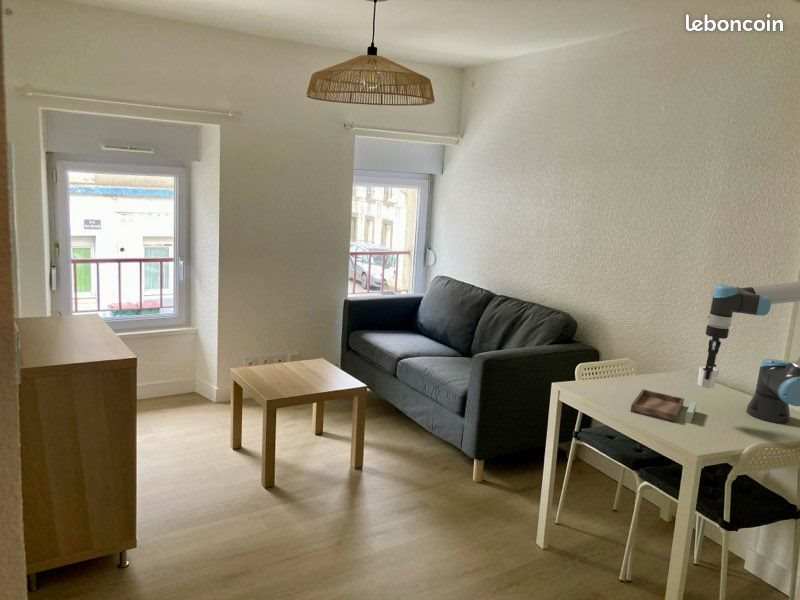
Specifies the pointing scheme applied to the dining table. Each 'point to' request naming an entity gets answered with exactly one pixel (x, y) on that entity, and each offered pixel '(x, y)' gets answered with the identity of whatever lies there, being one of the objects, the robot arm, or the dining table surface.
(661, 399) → the tray
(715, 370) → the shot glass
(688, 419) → the rail
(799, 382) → the robot arm
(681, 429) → the dining table surface
